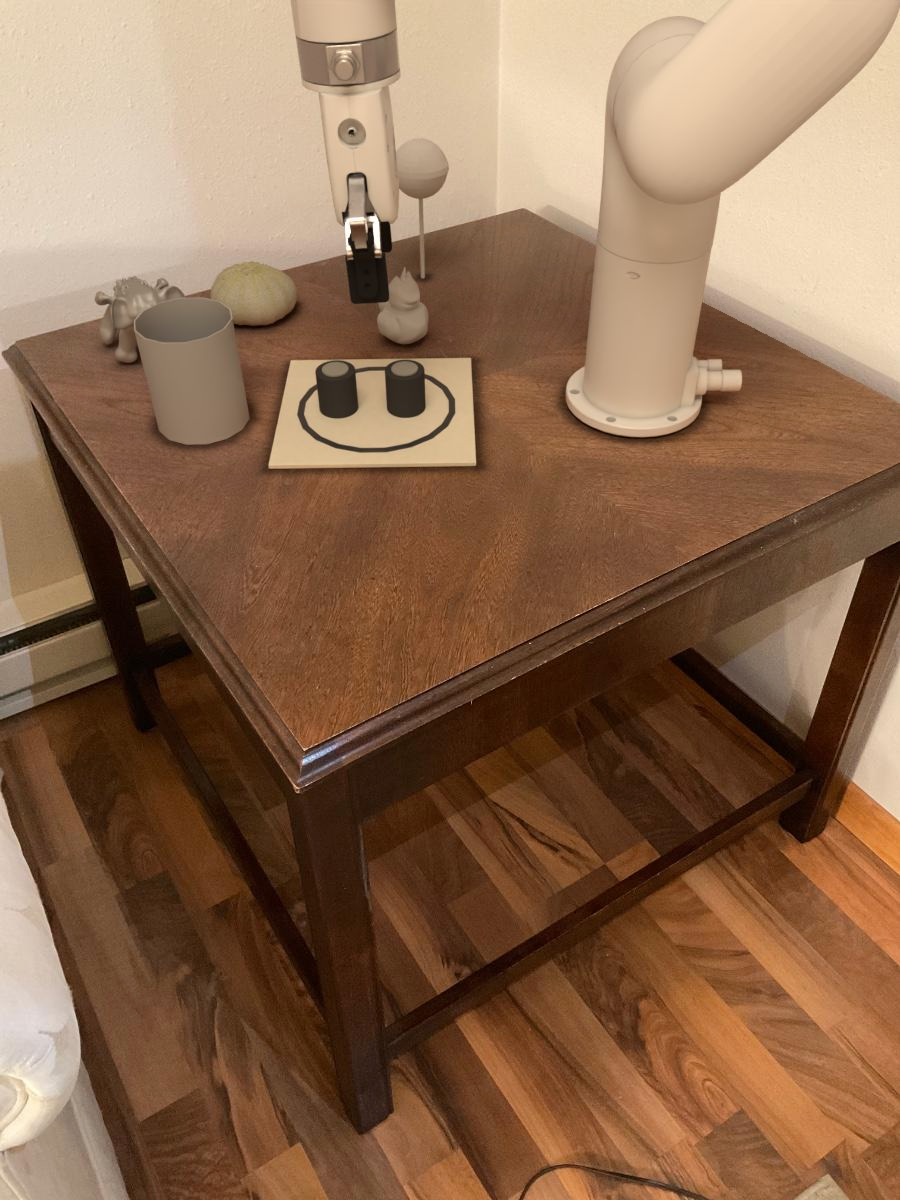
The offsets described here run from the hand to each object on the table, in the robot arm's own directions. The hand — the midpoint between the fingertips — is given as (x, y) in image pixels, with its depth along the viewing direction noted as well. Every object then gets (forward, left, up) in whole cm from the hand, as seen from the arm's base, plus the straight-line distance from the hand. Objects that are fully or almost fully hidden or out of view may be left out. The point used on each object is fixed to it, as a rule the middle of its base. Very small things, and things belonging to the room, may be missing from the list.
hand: (372, 275), depth 86 cm
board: (0, +2, -12) cm, 12 cm away
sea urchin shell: (+14, -18, -12) cm, 26 cm away
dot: (+4, +2, -12) cm, 13 cm away
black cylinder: (-3, +2, -12) cm, 12 cm away
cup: (+16, +3, -12) cm, 21 cm away
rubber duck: (-2, -12, -12) cm, 17 cm away
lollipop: (-4, -26, -12) cm, 29 cm away
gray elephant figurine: (+23, -9, -12) cm, 27 cm away
